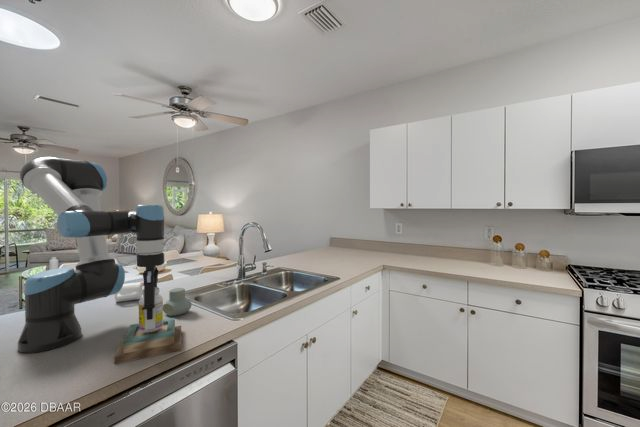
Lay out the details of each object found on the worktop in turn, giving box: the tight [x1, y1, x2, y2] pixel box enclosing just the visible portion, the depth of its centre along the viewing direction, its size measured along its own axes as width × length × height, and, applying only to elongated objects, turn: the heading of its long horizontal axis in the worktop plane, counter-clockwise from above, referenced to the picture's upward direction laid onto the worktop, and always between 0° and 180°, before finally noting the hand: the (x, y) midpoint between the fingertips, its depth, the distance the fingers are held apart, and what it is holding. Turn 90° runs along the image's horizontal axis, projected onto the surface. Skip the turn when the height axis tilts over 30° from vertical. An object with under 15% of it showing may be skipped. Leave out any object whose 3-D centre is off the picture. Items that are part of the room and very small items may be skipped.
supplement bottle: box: [138, 286, 164, 333], centre depth 89 cm, size 7×7×13 cm
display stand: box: [113, 317, 182, 365], centre depth 89 cm, size 17×15×6 cm
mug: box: [114, 282, 143, 303], centre depth 131 cm, size 12×10×8 cm
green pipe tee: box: [163, 287, 193, 317], centre depth 116 cm, size 11×8×10 cm
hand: (151, 324), depth 89 cm, fingers closed on supplement bottle, 7 cm apart
